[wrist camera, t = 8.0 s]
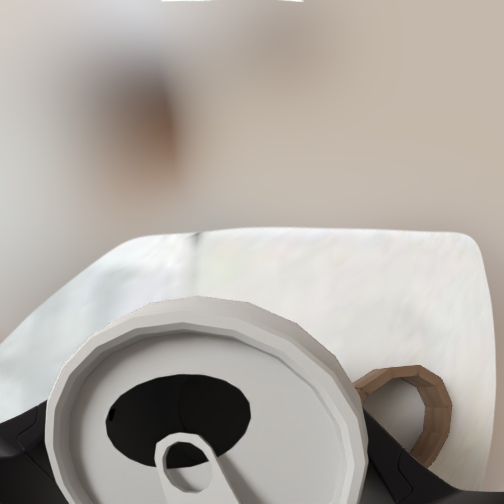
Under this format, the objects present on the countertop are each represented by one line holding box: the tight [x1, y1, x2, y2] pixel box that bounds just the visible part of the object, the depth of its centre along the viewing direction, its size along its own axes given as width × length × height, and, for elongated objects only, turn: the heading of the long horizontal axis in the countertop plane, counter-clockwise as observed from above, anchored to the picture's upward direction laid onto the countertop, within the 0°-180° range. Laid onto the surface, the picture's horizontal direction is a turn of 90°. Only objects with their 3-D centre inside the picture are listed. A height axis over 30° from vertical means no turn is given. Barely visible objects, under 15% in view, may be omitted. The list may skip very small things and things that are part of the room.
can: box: [45, 296, 369, 504], centre depth 9 cm, size 8×8×12 cm
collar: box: [352, 365, 452, 468], centre depth 16 cm, size 10×10×3 cm
